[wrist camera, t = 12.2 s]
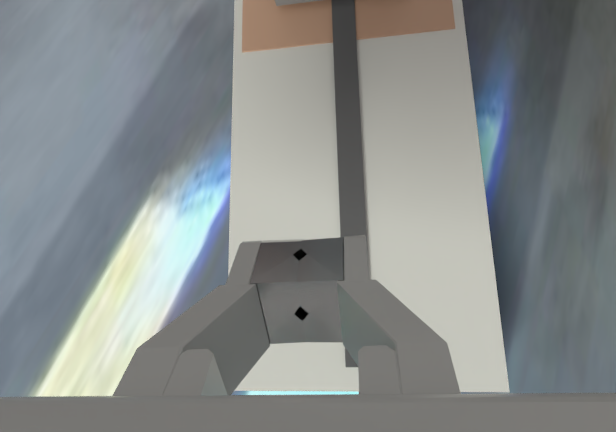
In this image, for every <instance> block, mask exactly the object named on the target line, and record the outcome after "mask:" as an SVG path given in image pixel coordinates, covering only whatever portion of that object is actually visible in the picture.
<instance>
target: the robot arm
mask: <svg viewBox="0 0 616 432" xmlns="http://www.w3.org/2000/svg"><path fill="white" fill-rule="evenodd" d="M300 342H343V345H344V346H345V348H346V349H347V351H348V352H349V354H350V355H351V357H352V358H353V360H354V361H355V362H356V364H357V365H358V372H359V394H355V395H231V394H232V393H233V391H234V390H235V389H236V388H237V386H238V385H239V384H240V383H241V381H242V380H243V379H244V378H245V376H246V375H247V374H248V373H249V372H250V370H251V369H252V368H253V367H254V365H255V364H256V363H257V362H258V360H259V359H260V358H261V357H262V355H263V354H264V353H265V352H266V350H267V349H268V348H269V347H270V344H280V343H300ZM0 432H616V393H514V394H461V393H460V389H459V385H458V381H457V378H456V374H455V370H454V367H453V363H452V359H451V355H450V352H449V348H448V344H447V342H446V341H445V340H443V339H442V338H441V337H440V336H439V335H438V334H437V333H436V332H434V331H433V330H432V329H431V328H430V327H429V326H428V325H427V324H425V323H424V322H423V321H422V320H421V319H420V318H419V317H418V316H417V315H415V314H414V313H413V312H412V311H411V310H410V309H409V308H408V307H406V306H405V305H404V304H403V303H402V302H401V301H400V300H399V299H397V298H396V297H395V296H394V295H393V294H392V293H391V292H390V291H388V290H387V289H386V288H385V287H384V286H383V285H382V284H381V283H380V282H378V281H377V280H370V276H369V264H368V252H367V241H366V236H365V235H358V236H346V237H339V238H323V239H307V240H303V239H295V240H263V241H243V242H242V243H240V245H239V247H238V250H237V253H236V256H235V259H234V262H233V264H232V267H231V270H230V273H229V276H228V279H227V282H226V284H225V285H220V286H218V287H217V288H215V289H214V290H213V291H212V292H210V293H209V294H208V295H206V296H205V297H204V298H202V299H201V300H200V301H199V302H197V303H196V304H195V305H193V306H192V307H191V308H189V309H188V310H187V311H185V312H184V313H183V314H182V315H180V316H179V317H178V318H176V319H175V320H174V321H172V322H171V323H170V324H169V325H167V326H166V327H165V328H163V329H162V330H161V331H159V332H158V333H157V334H155V335H154V336H153V337H152V338H150V339H149V340H148V341H146V342H145V343H144V344H142V345H141V346H140V347H139V348H137V350H136V352H135V354H134V356H133V358H132V359H131V361H130V363H129V365H128V367H127V369H126V371H125V373H124V375H123V377H122V379H121V381H120V383H119V385H118V387H117V388H116V390H115V392H114V394H113V396H69V397H0Z"/></svg>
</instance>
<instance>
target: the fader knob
mask: <svg viewBox="0 0 616 432" xmlns="http://www.w3.org/2000/svg"><path fill="white" fill-rule="evenodd" d="M313 1H321V0H275V3H276V6H281V5H289V4H297V3H305V2H313Z"/></svg>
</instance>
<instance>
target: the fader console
mask: <svg viewBox="0 0 616 432" xmlns="http://www.w3.org/2000/svg"><path fill="white" fill-rule="evenodd" d="M358 235H365V236H366V241H367V252H368V264H369V276H370V280H377V281H378V282H380V283H381V284H382V285H383V286H384V287H385V288H386V289H387V290H388V291H390V292H391V293H392V294H393V295H394V296H395V297H396V298H397V299H399V300H400V301H401V302H402V303H403V304H404V305H405V306H406V307H408V308H409V309H410V310H411V311H412V312H413V313H414V314H415V315H417V316H418V317H419V318H420V319H421V320H422V321H423V322H424V323H425V324H427V325H428V326H429V327H430V328H431V329H432V330H433V331H434V332H436V333H437V334H438V335H439V336H440V337H441V338H442V339H443V340H445V341H446V342H447V344H448V348H449V352H450V355H451V359H452V363H453V367H454V370H455V374H456V378H457V381H458V385H459V389H460V392H509V384H508V376H507V368H506V360H505V351H504V343H503V335H502V327H501V318H500V310H499V302H498V294H497V285H496V277H495V269H494V261H493V253H492V244H491V236H490V228H489V220H488V211H487V203H486V195H485V187H484V178H483V170H482V162H481V154H480V145H479V137H478V129H477V121H476V112H475V104H474V96H473V88H472V79H471V71H470V63H469V55H468V46H467V38H466V30H465V22H464V13H463V5H462V0H321V1H313V2H305V3H297V4H289V5H281V6H276V3H275V0H235V6H234V50H233V94H232V138H231V182H230V226H229V270H228V276H229V273H230V270H231V267H232V264H233V262H234V259H235V256H236V253H237V250H238V247H239V245H240V243H242V242H243V241H263V240H295V239H303V240H307V239H323V238H339V237H346V236H358ZM234 391H359V372H358V365H357V364H356V362H355V361H354V360H353V358H352V357H351V355H350V354H349V352H348V351H347V349H346V348H345V346H344V345H343V342H300V343H280V344H270V347H269V348H268V349H267V350H266V352H265V353H264V354H263V355H262V357H261V358H260V359H259V360H258V362H257V363H256V364H255V365H254V367H253V368H252V369H251V370H250V372H249V373H248V374H247V375H246V376H245V378H244V379H243V380H242V381H241V383H240V384H239V385H238V386H237V388H236V389H235V390H234Z"/></svg>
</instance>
